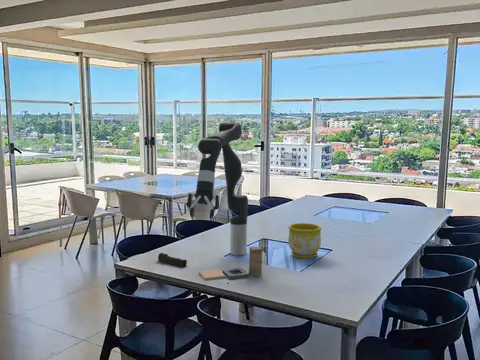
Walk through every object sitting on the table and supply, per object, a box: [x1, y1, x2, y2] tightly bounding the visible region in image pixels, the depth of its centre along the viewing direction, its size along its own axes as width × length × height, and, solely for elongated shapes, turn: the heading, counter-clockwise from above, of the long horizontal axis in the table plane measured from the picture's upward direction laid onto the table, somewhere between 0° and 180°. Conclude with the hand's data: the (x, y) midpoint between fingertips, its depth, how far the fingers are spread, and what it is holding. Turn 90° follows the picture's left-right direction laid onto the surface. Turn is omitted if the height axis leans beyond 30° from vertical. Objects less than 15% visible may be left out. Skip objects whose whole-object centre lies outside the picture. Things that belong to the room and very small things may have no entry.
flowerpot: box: [287, 222, 322, 259], centre depth 252 cm, size 18×18×16 cm
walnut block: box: [248, 245, 263, 277], centre depth 220 cm, size 5×5×13 cm
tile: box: [198, 268, 226, 281], centre depth 218 cm, size 10×10×1 cm
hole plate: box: [221, 267, 250, 280], centre depth 219 cm, size 10×10×2 cm
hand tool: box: [157, 252, 188, 268], centre depth 236 cm, size 19×4×5 cm, turn 52°
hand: (201, 217), depth 199 cm, fingers open, 8 cm apart
